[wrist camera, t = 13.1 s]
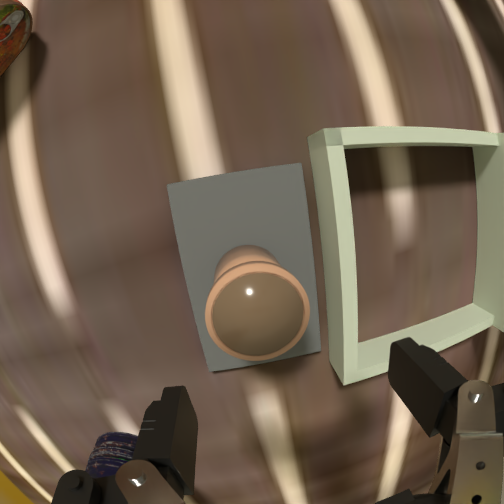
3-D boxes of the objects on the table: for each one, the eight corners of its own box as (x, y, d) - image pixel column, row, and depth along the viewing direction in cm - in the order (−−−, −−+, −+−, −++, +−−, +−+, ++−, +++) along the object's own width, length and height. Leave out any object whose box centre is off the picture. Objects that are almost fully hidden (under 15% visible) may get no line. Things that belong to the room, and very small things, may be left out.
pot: (280, 234, 22) (305, 256, 16) (289, 305, 24) (313, 350, 17) (203, 247, 22) (194, 276, 15) (218, 318, 23) (216, 368, 17)
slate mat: (298, 163, 22) (301, 162, 21) (318, 346, 26) (320, 350, 25) (168, 184, 22) (166, 184, 21) (209, 366, 25) (209, 371, 24)
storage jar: (172, 482, 29) (165, 573, 15) (103, 468, 28) (79, 551, 14) (170, 439, 27) (156, 553, 13) (88, 422, 26) (48, 521, 11)
